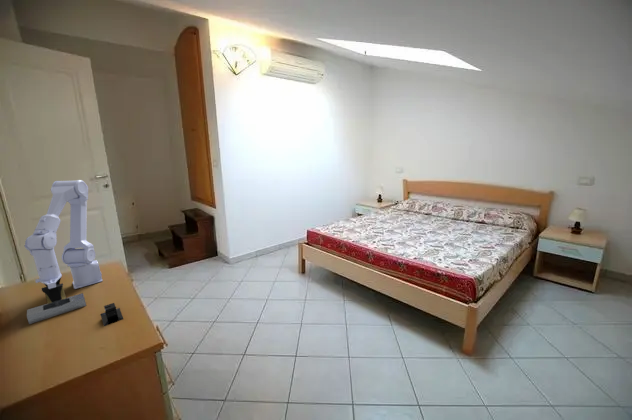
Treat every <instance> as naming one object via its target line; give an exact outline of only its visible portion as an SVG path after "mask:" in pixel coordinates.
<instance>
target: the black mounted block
mask: <svg viewBox="0 0 632 420" xmlns="http://www.w3.org/2000/svg"><path fill="white" fill-rule="evenodd" d="M103 308H104V312H102V313H101V314H100V317H101V321H102V324H103V327H107V326H109V325H113V324H115V323H118V322H120V321H123V320H124V316H123V313H122V311H121V309H120V307H118V308H117V307H116V304H115V302H112V303H109V304H107V305H106V304H105V305H103Z"/></svg>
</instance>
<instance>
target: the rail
mask: <svg viewBox="0 0 632 420" xmlns="http://www.w3.org/2000/svg"><path fill="white" fill-rule="evenodd" d="M86 306H87V302H86V299H85V296H84V293H83V292H82V293H78V294H76V295H71V296H69V297H66V298H65V299H62V298H61V300H58V301H55V302H51V303H45V304H42V305H39V306H35V307H32V308H27V309H26V318H27V322H28V325H31V324H34V323H37V322H40V321H44V320H47V319H49V318H53V317H56V316H59V315H62V314H65V313H69V312H71V311H74V310H77V309H80V308H84V307H86Z"/></svg>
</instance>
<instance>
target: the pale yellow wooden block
mask: <svg viewBox="0 0 632 420" xmlns="http://www.w3.org/2000/svg"><path fill="white" fill-rule="evenodd" d="M44 295H45V298H46V302H47V303H46V304H48V303H51V300H50V298H49V297H48V296H47V295H46V294H45V293H44ZM65 298H67V297H66V294H65V290H64V286H63V287H62V290H61V299H65Z"/></svg>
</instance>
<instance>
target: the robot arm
mask: <svg viewBox="0 0 632 420" xmlns="http://www.w3.org/2000/svg"><path fill="white" fill-rule="evenodd" d="M50 193H51V194H52V195H51V199H50V203H49V205H48V209H47V212H46V214H44V215H41V216H40V217H39V220H38V223H37V224H36V227H35V229H34V231H33V232H32V234H31V235H28V237H26V239H25V241H24V242H25V243H24V248H25V250H27V251H29V253H30V255H31V256H32V257H33V260H34V264H35V268H36V270H37V275H38V277H39V278H36V279H35V283H36V284H38V283H41V284H43V285H44V286H43V287H42V288H41V292H43V293H44V295H45V294H46V295H47V296H48V297H49V298H50V300H51V302H55V301H58V300H61V299H62V296H61V290H62V287H63V288H64V284H63V282H62V283H61V279H62V276H63V274H62V273H61V270H60V266H59V262H58V259H57V256H56V255H57V254H56V252H55V248H56V245H57V243H58V240H57V239H58V238H57V236H58V235H57V231H58V230H59V227H60V224H61V222H62V220H61V218H60V215H61V213H62V212H63V209H64V208H65V206H66V204H67V202H68V204H70V213H69V214H70V215H69V218H70V220H69V221H70V222H69V227H70V229H69V237H70V238H69V242H68V243H67V244H65V245H64V246H63V251H62V253H61V254H62V255H61V261H62V263H63V264H65V265H67V267H69V268H70V269H69V270H70V272H71V277H72V280H73V281H72V286H73V289H74V290H76V289H79V288H83V287H88V286H91V285H94V284H98V283H101V282H103V277H102V271H101V269H100V264H99V262H98V260H97V259H96V255H97V254H96V251H95V248H94V247H95V245H94V244H93V243H91V242H89V241H88V239H87V234H88V233H87V232H88V231H87V230H88V229H87V226H88V225H87V224H88V221H87V220H88V218H87V216H88V209H87V208H88V200H89V186H88V185H87V183H86V182H85V181H84V180H82V179H76V180H55V181H53V183H52V184H51V188H50ZM95 259H96V260H95ZM46 295H45V296H46Z"/></svg>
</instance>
